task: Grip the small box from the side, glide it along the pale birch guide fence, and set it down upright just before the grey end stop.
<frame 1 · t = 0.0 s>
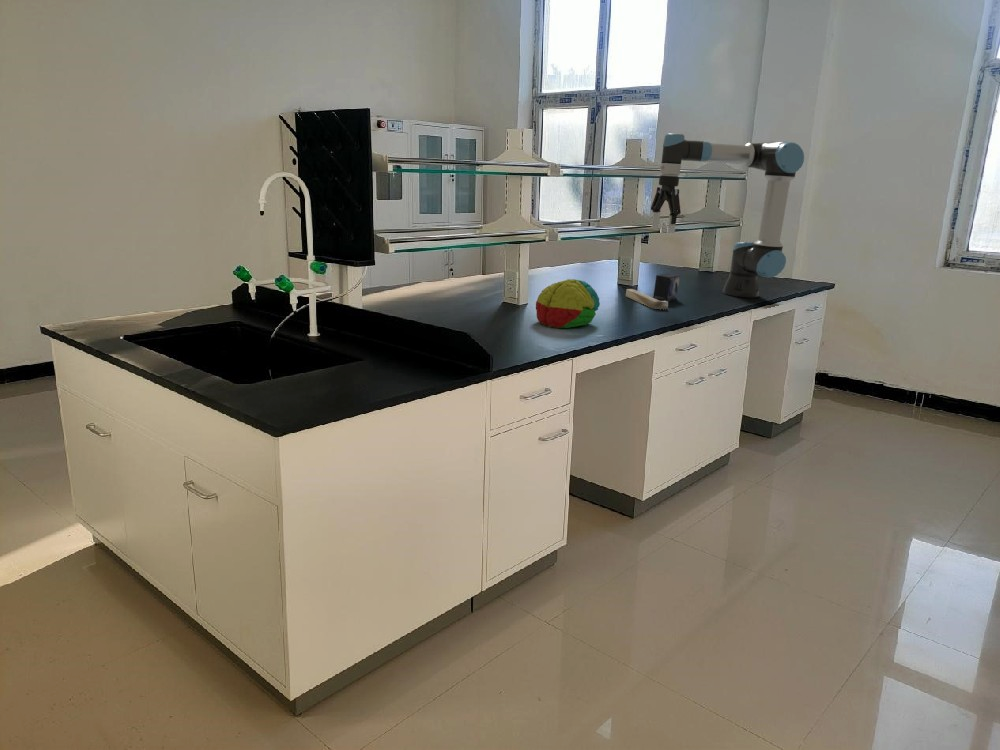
hand: (662, 230, 287), 28 cm above the countertop, tool pointing down, fingers open, 13 cm apart
brain model: (566, 323, 244), on the countertop
guide fence: (642, 302, 287), on the countertop
small box: (665, 300, 297), on the countertop
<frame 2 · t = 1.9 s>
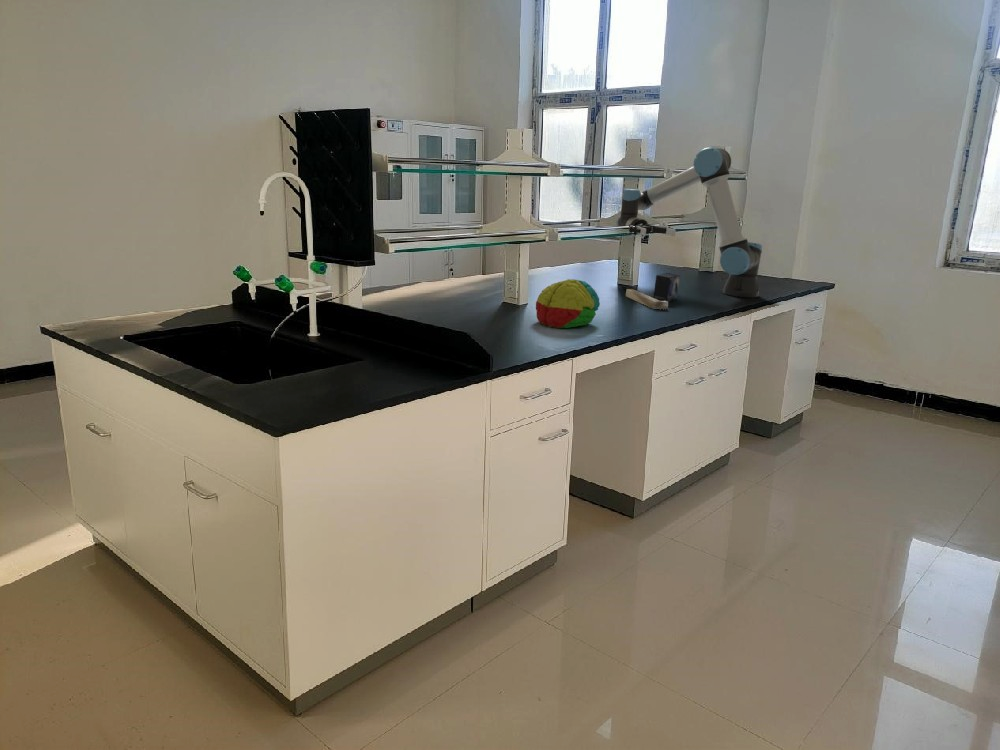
hand: (659, 232, 299), 26 cm above the countertop, tool horizontal, fingers open, 13 cm apart
nothing on the countertop moved.
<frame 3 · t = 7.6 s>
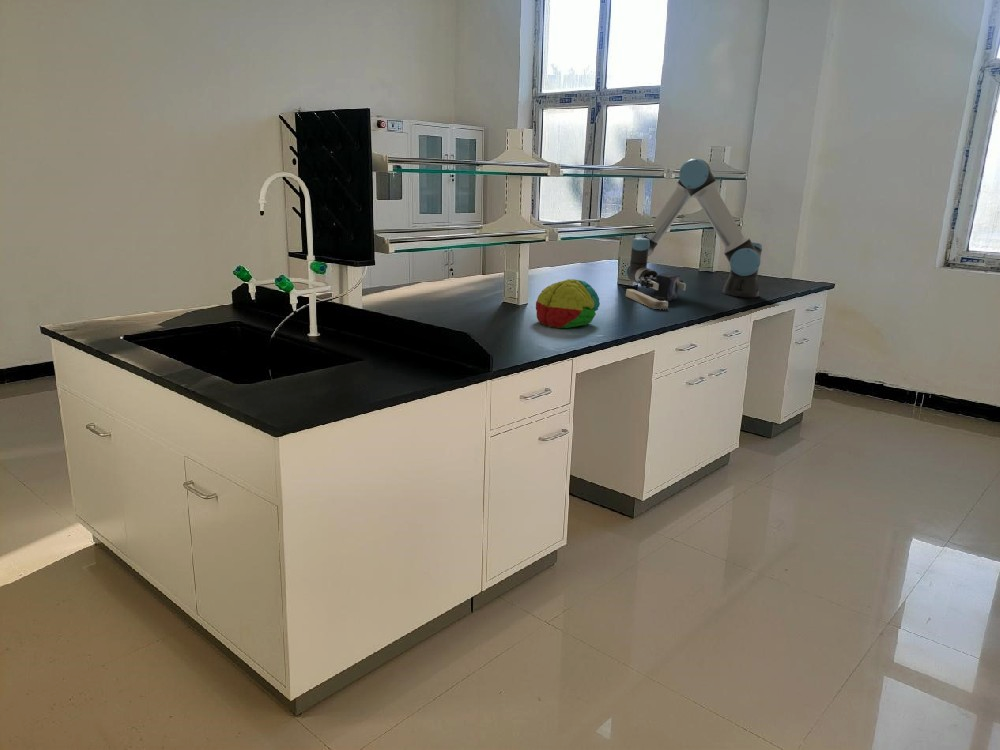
hand: (671, 287, 291), 6 cm above the countertop, tool horizontal, fingers closed on small box, 11 cm apart
small box: (665, 300, 297), on the countertop, touching gripper
everything else where it was.
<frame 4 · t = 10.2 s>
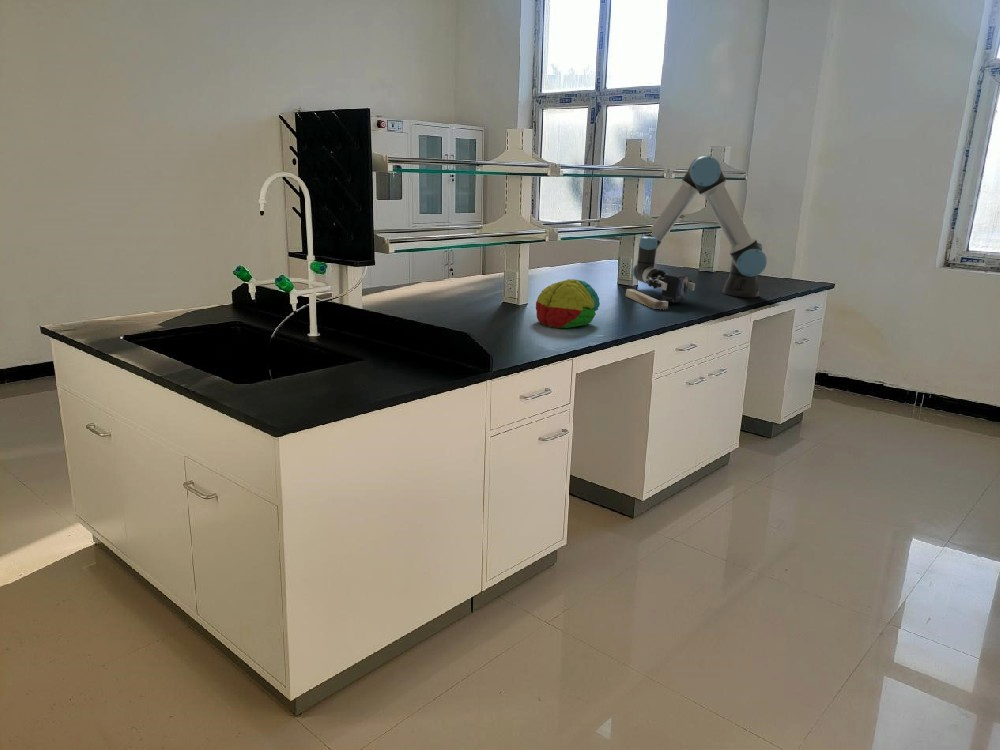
hand: (679, 287, 284), 7 cm above the countertop, tool horizontal, fingers closed on small box, 11 cm apart
small box: (673, 300, 289), point 1 cm above the countertop, touching gripper
everything else where it was.
when the fingers open (6 cm above the countertop, at t = 12.9 s): small box stays where it is, on the countertop.
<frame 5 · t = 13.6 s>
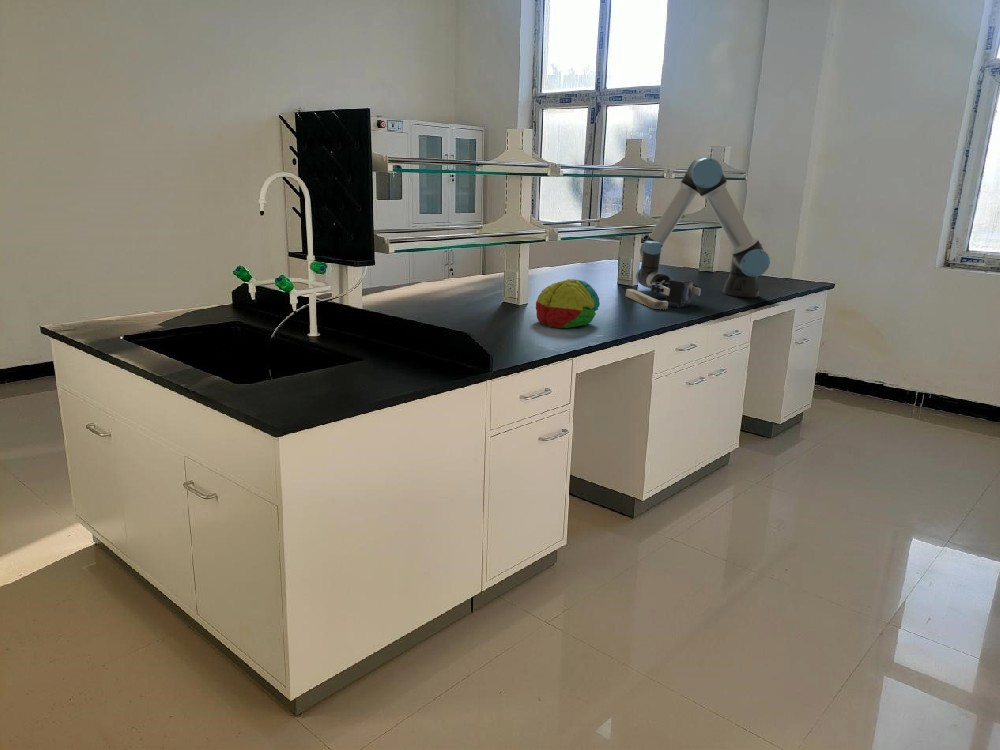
hand: (684, 292, 282), 6 cm above the countertop, tool horizontal, fingers open, 13 cm apart
small box: (677, 306, 286), on the countertop
everything else where it was.
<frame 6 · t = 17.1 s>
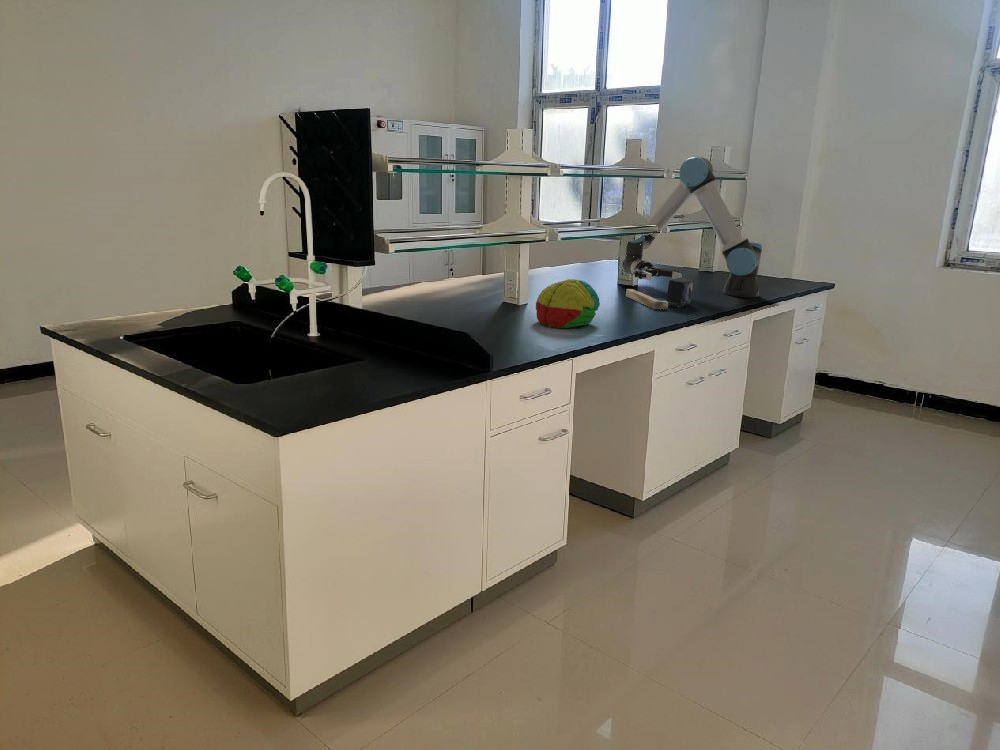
hand: (665, 277, 295), 9 cm above the countertop, tool horizontal, fingers open, 13 cm apart
nothing on the countertop moved.
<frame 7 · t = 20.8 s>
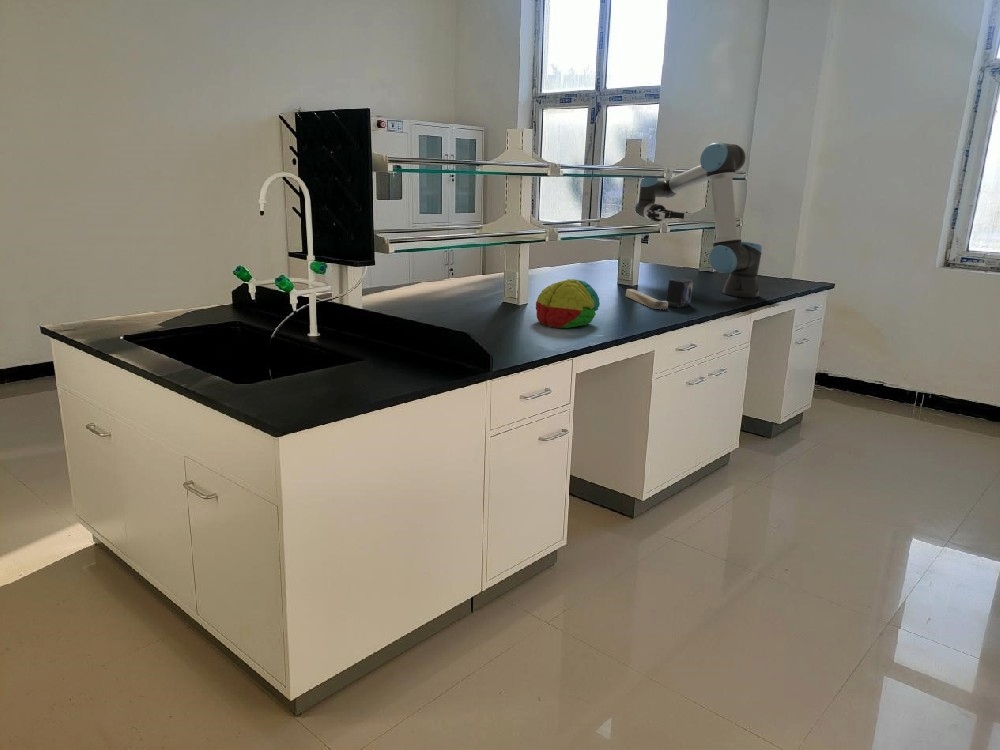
hand: (678, 217, 308), 32 cm above the countertop, tool horizontal, fingers open, 13 cm apart
nothing on the countertop moved.
at the end: small box inside the target area (0.3 cm from its centre), on the countertop; small box tilted 0°; the gripper is holding nothing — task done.
